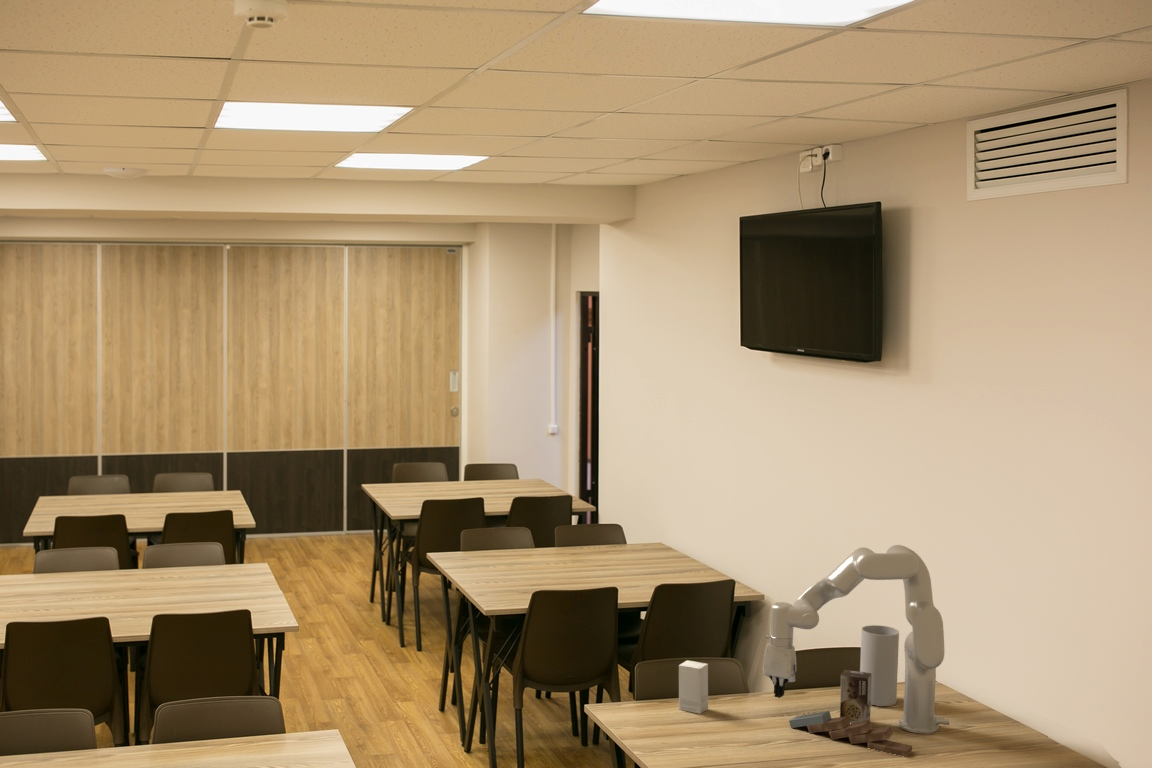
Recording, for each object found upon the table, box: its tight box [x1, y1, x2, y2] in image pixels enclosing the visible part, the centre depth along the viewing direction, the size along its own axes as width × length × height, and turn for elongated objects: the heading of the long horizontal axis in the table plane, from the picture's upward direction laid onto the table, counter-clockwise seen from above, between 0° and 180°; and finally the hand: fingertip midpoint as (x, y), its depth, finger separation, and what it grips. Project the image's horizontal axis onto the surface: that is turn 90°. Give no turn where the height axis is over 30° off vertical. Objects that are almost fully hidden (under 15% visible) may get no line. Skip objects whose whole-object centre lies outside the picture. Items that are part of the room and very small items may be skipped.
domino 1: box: [806, 716, 850, 734], centre depth 353 cm, size 2×6×12 cm
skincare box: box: [678, 659, 709, 715], centre depth 373 cm, size 8×7×16 cm
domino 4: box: [867, 739, 913, 758], centre depth 342 cm, size 2×6×12 cm
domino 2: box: [828, 719, 873, 741], centre depth 348 cm, size 2×6×12 cm
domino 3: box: [848, 726, 894, 745], centre depth 345 cm, size 2×6×12 cm
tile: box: [788, 710, 832, 729], centre depth 357 cm, size 2×6×12 cm
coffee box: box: [839, 669, 872, 724], centre depth 365 cm, size 9×6×16 cm
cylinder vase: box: [859, 624, 900, 707], centre depth 385 cm, size 12×12×25 cm
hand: (779, 696), depth 363 cm, fingers closed
